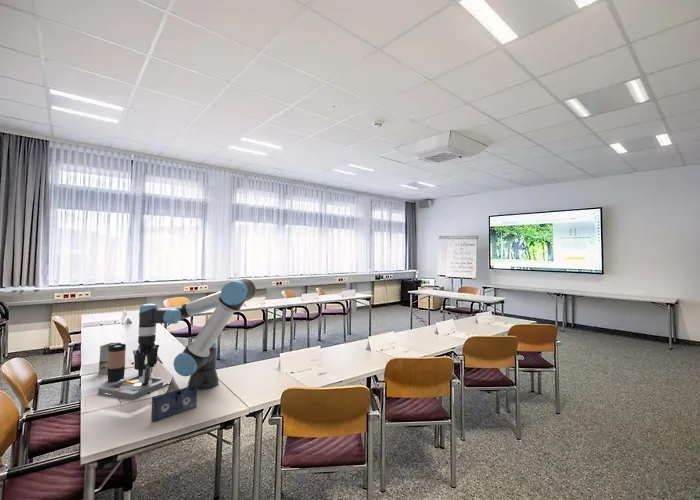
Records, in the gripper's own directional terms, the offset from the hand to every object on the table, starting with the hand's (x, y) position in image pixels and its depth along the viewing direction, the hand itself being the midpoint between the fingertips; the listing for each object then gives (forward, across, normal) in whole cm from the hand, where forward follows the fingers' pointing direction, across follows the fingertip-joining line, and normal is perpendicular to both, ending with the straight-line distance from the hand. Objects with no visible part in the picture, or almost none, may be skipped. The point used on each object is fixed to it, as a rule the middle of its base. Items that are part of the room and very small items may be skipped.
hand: (145, 381), depth 166 cm
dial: (+4, 0, -6) cm, 7 cm away
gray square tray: (+6, 0, -6) cm, 8 cm away
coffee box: (+6, -17, -46) cm, 49 cm away
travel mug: (+6, -5, -26) cm, 27 cm away
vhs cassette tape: (+6, +14, +32) cm, 36 cm away
